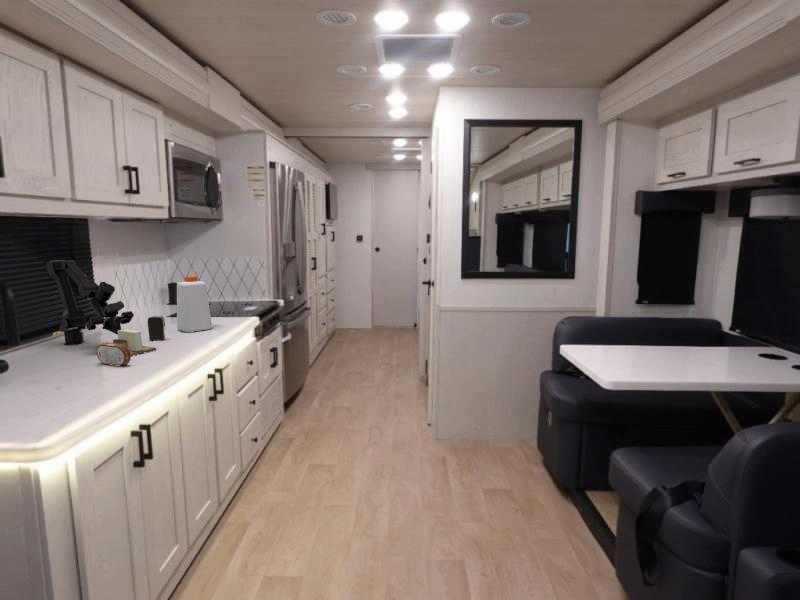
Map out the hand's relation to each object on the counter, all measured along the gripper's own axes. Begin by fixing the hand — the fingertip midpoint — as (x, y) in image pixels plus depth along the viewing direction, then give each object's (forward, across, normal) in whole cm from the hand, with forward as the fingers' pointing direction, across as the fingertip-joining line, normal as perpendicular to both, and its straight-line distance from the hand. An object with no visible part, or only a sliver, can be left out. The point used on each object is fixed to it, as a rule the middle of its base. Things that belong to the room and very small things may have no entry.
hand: (120, 334), depth 208 cm
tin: (+18, -16, -7) cm, 25 cm away
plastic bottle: (-1, +46, +11) cm, 47 cm away
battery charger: (+2, +21, +8) cm, 23 cm away
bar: (+8, 0, 0) cm, 8 cm away
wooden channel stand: (+8, 0, +2) cm, 8 cm away
